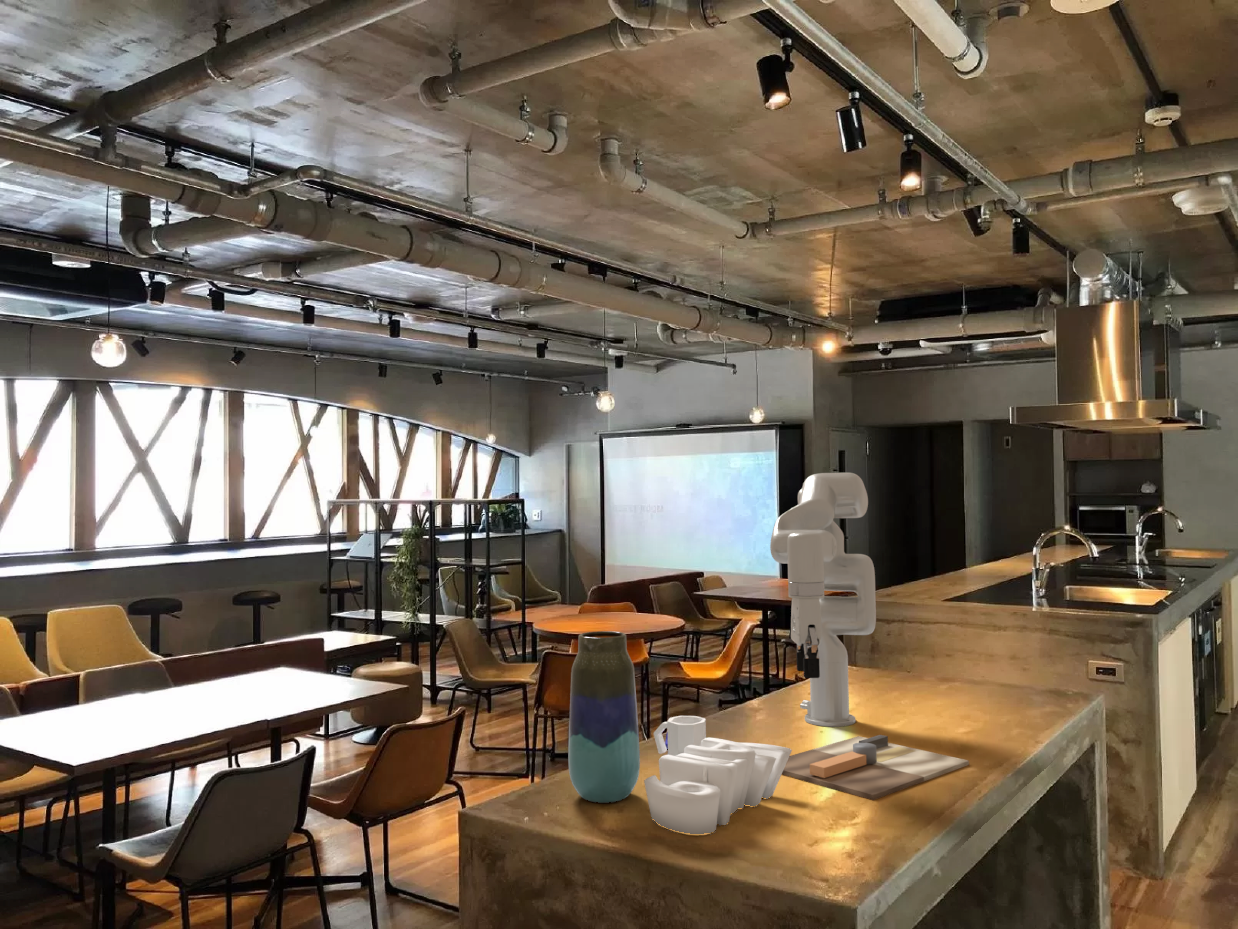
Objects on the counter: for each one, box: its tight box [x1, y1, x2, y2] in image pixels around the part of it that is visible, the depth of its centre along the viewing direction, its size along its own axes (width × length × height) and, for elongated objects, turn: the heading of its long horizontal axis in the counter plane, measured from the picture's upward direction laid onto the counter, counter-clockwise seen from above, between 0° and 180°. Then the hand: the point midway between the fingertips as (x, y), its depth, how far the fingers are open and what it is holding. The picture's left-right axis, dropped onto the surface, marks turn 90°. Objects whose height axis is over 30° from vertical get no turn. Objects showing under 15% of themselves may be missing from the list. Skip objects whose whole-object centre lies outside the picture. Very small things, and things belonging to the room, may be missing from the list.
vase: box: [567, 630, 641, 804], centre depth 184 cm, size 14×14×31 cm
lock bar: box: [810, 743, 877, 778], centre depth 196 cm, size 18×5×3 cm, turn 130°
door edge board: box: [781, 734, 970, 801], centre depth 200 cm, size 28×34×3 cm
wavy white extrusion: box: [643, 737, 793, 834], centre depth 175 cm, size 35×16×11 cm, turn 141°
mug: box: [653, 715, 707, 756], centre depth 204 cm, size 12×9×10 cm
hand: (808, 673), depth 201 cm, fingers open, 7 cm apart
